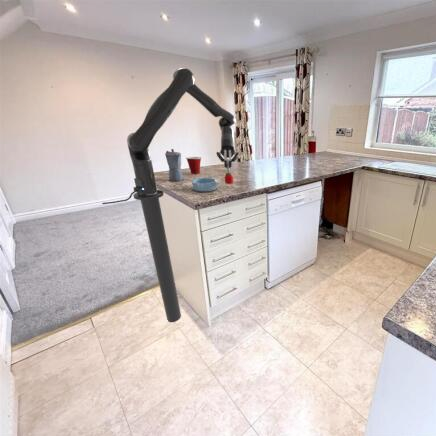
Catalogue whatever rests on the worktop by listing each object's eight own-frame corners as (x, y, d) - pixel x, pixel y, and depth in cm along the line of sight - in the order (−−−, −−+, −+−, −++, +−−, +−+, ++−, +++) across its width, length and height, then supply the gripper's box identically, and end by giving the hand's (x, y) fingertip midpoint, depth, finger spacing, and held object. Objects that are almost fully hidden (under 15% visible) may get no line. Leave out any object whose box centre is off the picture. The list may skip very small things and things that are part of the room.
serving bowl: (205, 193, 139) (204, 185, 137) (188, 189, 144) (186, 181, 142) (221, 187, 150) (221, 179, 148) (205, 184, 155) (204, 176, 153)
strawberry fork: (229, 184, 144) (228, 160, 139) (223, 183, 146) (221, 159, 141) (234, 182, 148) (233, 158, 143) (228, 181, 150) (227, 158, 145)
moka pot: (176, 183, 156) (171, 150, 148) (162, 179, 163) (156, 148, 155) (189, 180, 164) (185, 149, 156) (175, 176, 171) (170, 146, 163)
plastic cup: (206, 172, 185) (204, 156, 180) (197, 175, 175) (195, 158, 170) (194, 171, 187) (192, 155, 183) (184, 174, 178) (182, 157, 173)
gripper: (215, 138, 143) (215, 163, 137) (238, 138, 146) (239, 163, 139) (216, 146, 150) (216, 170, 144) (239, 146, 152) (240, 170, 146)
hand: (228, 167), depth 142 cm, fingers closed on strawberry fork, 1 cm apart
